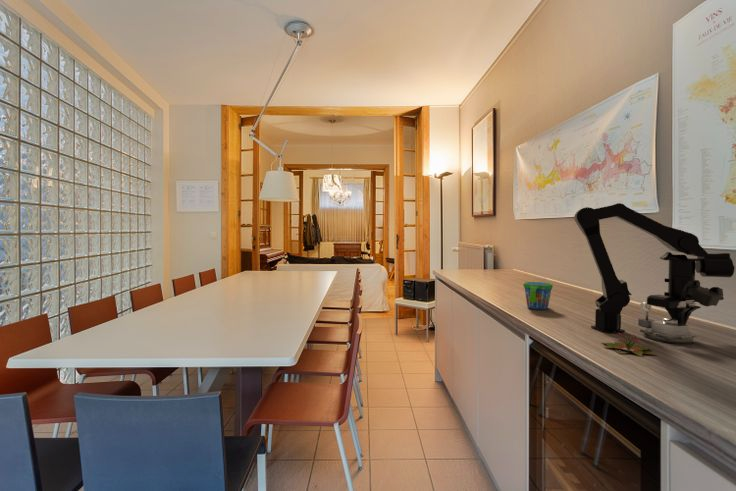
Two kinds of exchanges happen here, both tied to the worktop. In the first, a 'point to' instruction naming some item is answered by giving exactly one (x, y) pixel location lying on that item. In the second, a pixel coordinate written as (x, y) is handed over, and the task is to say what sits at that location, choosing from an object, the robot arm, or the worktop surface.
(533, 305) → the snack cup
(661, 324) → the cover
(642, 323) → the dial gauge
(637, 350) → the lily flower
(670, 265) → the robot arm
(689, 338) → the turntable
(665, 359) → the worktop surface
